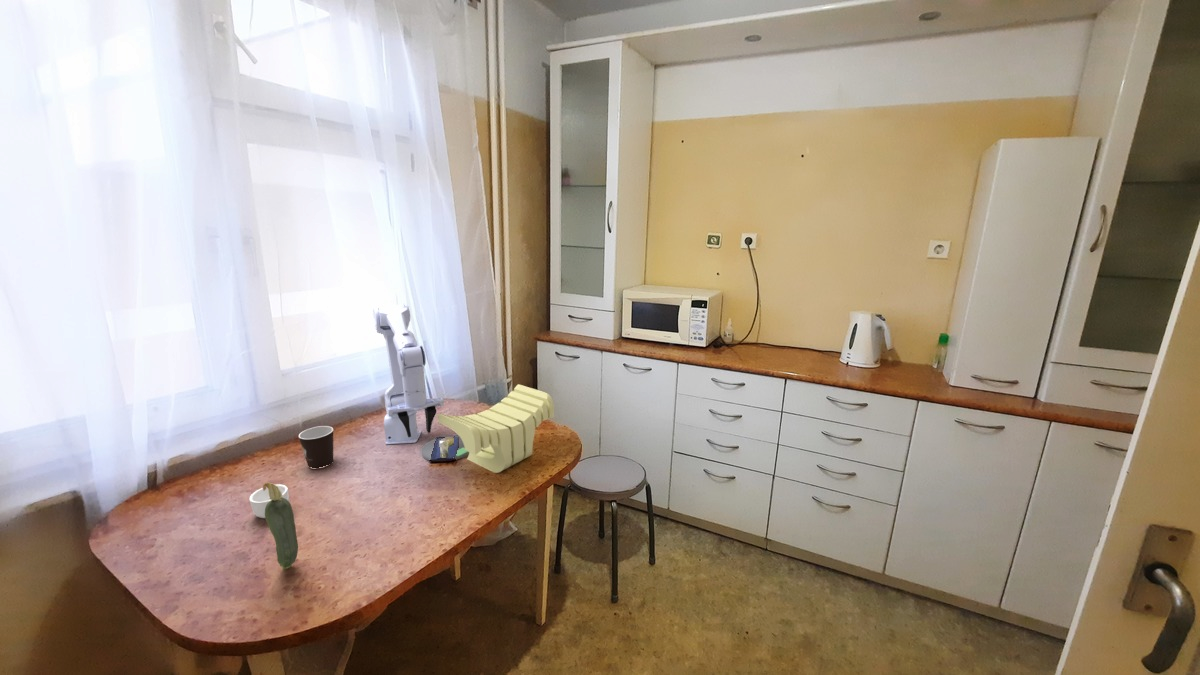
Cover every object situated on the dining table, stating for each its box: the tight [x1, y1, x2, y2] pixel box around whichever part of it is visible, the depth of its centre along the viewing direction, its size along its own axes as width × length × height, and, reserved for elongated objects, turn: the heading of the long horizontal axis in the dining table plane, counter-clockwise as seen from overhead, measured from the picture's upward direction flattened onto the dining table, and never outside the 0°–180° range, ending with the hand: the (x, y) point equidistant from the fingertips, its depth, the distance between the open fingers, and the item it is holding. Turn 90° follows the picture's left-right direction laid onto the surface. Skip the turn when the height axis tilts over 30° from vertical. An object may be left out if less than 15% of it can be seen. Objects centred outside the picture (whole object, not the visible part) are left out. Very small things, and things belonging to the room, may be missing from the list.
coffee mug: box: [298, 425, 334, 468], centre depth 134 cm, size 12×9×10 cm
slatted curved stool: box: [437, 383, 555, 474], centre depth 136 cm, size 30×16×18 cm, turn 143°
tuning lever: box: [439, 437, 454, 458], centre depth 139 cm, size 10×4×5 cm, turn 9°
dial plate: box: [420, 434, 469, 461], centre depth 143 cm, size 16×16×1 cm
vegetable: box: [262, 482, 299, 570], centre depth 91 cm, size 4×4×20 cm
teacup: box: [248, 483, 290, 519], centre depth 112 cm, size 10×8×5 cm
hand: (418, 433), depth 131 cm, fingers open, 5 cm apart
